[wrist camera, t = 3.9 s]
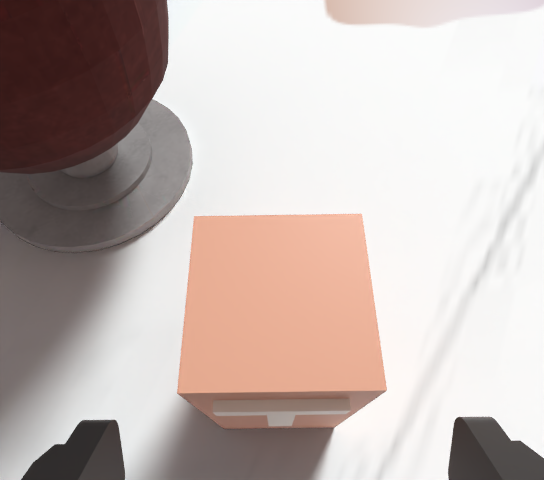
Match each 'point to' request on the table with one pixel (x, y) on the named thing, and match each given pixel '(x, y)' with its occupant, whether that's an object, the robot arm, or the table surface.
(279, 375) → the terracotta block
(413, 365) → the table surface
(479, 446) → the robot arm
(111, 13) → the mate gourd
